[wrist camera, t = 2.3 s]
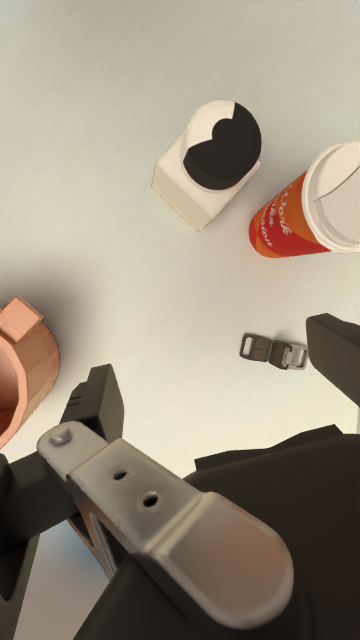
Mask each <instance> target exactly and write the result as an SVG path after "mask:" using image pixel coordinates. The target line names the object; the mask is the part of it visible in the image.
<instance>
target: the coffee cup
mask: <svg viewBox="0 0 360 640" xmlns="http://www.w3.org/2000/svg"><path fill="white" fill-rule="evenodd" d="M249 237H250V241H251V243H252V245H253V247H254V248H255V250H256V251H257V252H259V253H260V254H261V255H263V256H266V257H270V258H280V257H289V256H298V255H306V254H314V253H322V252H329V251H334V252H337V253H355V252H360V141H354V142H342V143H339V144H335V145H333V146H331V147H329V148H327V149H326V150H325V151H323V152H322V153H320V154H319V156H318V157H317V158H316V159H315V160H314V161H313V163H312V164H311V165H310V167H309V169H308V170H307V171H306V172H305V173H303V174H302V175H301V176H300V177H298V178H297V179H296V180H295V181H294V182H292V183H291V184H290V185H289V186H288V187H286V188H285V189H284V190H283V191H282V192H280V193H279V194H278V195H277V196H276V197H274V198H273V199H272V200H271V201H270V202H269V203H267V204H266V205H265V206H264V207H263V208H262V209H261V210H259V211H258V212H257V213H256V215H255V216H254V217H253V219H252V221H251V224H250V227H249Z"/></svg>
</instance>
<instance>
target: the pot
mask: <svg viewBox="0 0 360 640" xmlns="http://www.w3.org/2000/svg"><path fill="white" fill-rule="evenodd" d="M43 318H44V316H43V315H41V314H40V313H39V312H38V311H37V310H36V309H34V308H33V307H32V306H31V305H30V304H29V303H27V302H26V301H25V300H24V299H23V298H22V297H20V296H16V297H15V298H14V299H13V300H12V301H11V302H10V303H9V304H8V305H7V306H6V307H3V308H0V450H1V449H2V447H3V446H4V445H5V444H6V443H7V442H8V441H9V440H10V439H11V438H12V437H13V436H14V435H15V434H16V433H17V431H18V430H19V429H20V428H21V427H22V425H23V424H24V423H25V422H26V420H27V419H28V418H29V417H30V415H31V414H32V413H33V412H34V410H35V409H36V408H37V407H38V406H39V404H40V403H41V402H42V401H43V399H44V398H45V397H46V396H47V394H48V393H49V392H50V391H51V389H52V388H53V385H54V383H55V380H56V378H57V375H58V372H59V365H60V357H59V350H58V347H57V344H56V341H55V339H54V337H53V335H52V334H51V332H50V331H49V330H48V328H47V327H46V326H45V325H44V324H43V323H42V322H41V320H42V319H43Z"/></svg>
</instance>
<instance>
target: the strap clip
mask: <svg viewBox="0 0 360 640" xmlns="http://www.w3.org/2000/svg"><path fill="white" fill-rule="evenodd" d="M247 337H250V338H253V340H252V344H251V349H250V353H249V356H245V355H243V350H244V346H245V341H246V338H247ZM300 349H304V354H303V358H302V362H301V366H297V362H298V358H299V354H300ZM240 356H241V357H242V358H245V359H248V360H253V361H261V362H267V361H269V363H270V364H272V365H274V366H276V367H277V368H279V369H284V370H288V369H289V368H291V369H294V370H303V369H305V367H306V363H307V359H308V348H307V347H304V346H301V345H297V344H291V343H285V342H279V341H274V342H272V340H270V339H267V338H263V337H260V336H256V335H248V334H247V335H244V337H243V340H242V345H241V349H240Z"/></svg>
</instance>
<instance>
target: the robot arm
mask: <svg viewBox="0 0 360 640" xmlns="http://www.w3.org/2000/svg"><path fill="white" fill-rule="evenodd" d="M306 332H307V344H308V355H309V359H310V361H311V363H312V365H313V366H314V368H315V369H317V370H318V371H319V372H320V373H321V374H322V375H323V376H325V377H326V378H327V379H328V380H329V381H330V382H331V383H333V384H334V385H335V386H336V387H337V388H338V389H339V390H341V391H342V392H343V393H344V394H345V395H346V396H347V397H349V398H350V399H351V400H352V401H353V402H354V403H355V404H357V405H358V406H359V407H360V326H359V325H357V324H354V323H349V322H345V321H342V320H340V319H338V318H336V317H334V316H332V315H330V314H328V313H324V314H320V315H315V316H311V317H308V318H307V320H306ZM123 421H124V405H123V400H122V396H121V393H120V390H119V387H118V383H117V380H116V377H115V373H114V370H113V367H112V365H111V364H106V365H102V366H98V367H93V368H91V370H90V373H89V376H88V379H87V382H82V383H80V384H79V385H78V386H77V387H76V388H75V389H74V390H73V391H72V393H71V396H70V398H69V401H68V403H67V407H66V408H65V411H64V413H63V416H62V418H61V421H60V423H59V425H57V426H55V427H53V428H51V429H50V430H48V431H47V432H46V433H44V434H43V435H42V436H41V438H40V439H39V440H38V442H37V445H36V448H37V451H36V452H34V453H32V454H30V455H28V456H26V457H24V458H21V459H19V460H17V461H15V462H12V463H10V464H9V463H8V461H7V459H6V457H5V455H3V454H1V453H0V640H13V638H14V634H15V630H16V626H17V622H18V618H19V614H20V610H21V607H22V603H23V599H24V595H25V591H26V587H27V583H28V579H29V576H30V572H31V568H32V564H33V560H34V556H35V553H36V549H37V545H38V541H39V537H40V533H42V532H44V531H46V530H47V529H49V528H51V527H53V526H55V525H57V524H59V523H61V522H62V521H64V520H66V519H67V520H68V522H69V524H70V525H71V526H72V528H73V529H74V530H75V532H76V533H77V534H78V535H79V537H80V538H81V539H82V541H83V542H84V543H85V545H86V546H87V547H88V549H89V550H90V551H91V553H92V554H93V555H94V557H95V558H96V559H97V561H98V562H99V563H100V565H101V567H102V569H103V570H104V572H105V574H106V576H107V578H108V580H109V581H110V582H109V584H108V586H107V587H106V589H105V590H104V592H103V593H102V595H101V596H100V598H99V599H98V601H97V603H96V604H95V606H94V607H93V609H92V611H91V612H90V614H89V615H88V617H87V618H86V620H85V621H84V623H83V625H82V626H81V628H80V629H79V631H78V632H77V634H76V636H75V637H74V639H73V640H360V434H343V433H342V432H341V431H340V430H339V428H338V427H337V426H336V425H335V424H333V425H329V426H325V427H321V428H317V429H313V430H309V431H305V432H301V433H299V434H297V435H295V436H293V437H291V438H289V439H287V440H285V441H283V442H281V443H279V444H277V445H275V446H273V447H270V448H266V449H250V450H232V451H226V452H222V453H218V454H214V455H210V456H206V457H202V458H198V459H194V461H195V465H196V470H197V471H195V472H193V473H191V474H189V475H188V476H186V477H185V478H183V479H181V478H179V477H178V476H176V475H175V474H173V473H172V472H171V471H169V470H168V469H166V468H165V467H163V466H162V465H160V464H159V463H157V462H156V461H154V460H153V459H151V458H150V457H148V456H147V455H146V454H144V453H143V452H141V451H140V450H138V449H137V448H135V447H134V446H132V445H131V444H129V443H128V442H126V441H125V440H123V439H122V432H123Z"/></svg>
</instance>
